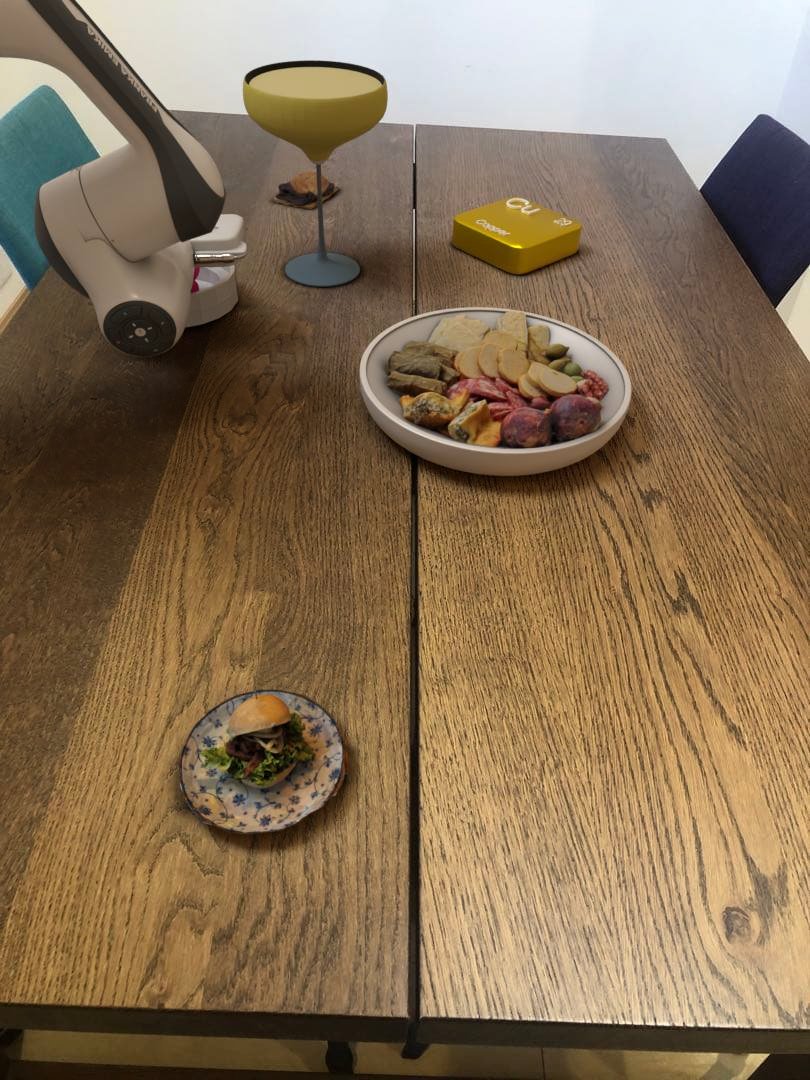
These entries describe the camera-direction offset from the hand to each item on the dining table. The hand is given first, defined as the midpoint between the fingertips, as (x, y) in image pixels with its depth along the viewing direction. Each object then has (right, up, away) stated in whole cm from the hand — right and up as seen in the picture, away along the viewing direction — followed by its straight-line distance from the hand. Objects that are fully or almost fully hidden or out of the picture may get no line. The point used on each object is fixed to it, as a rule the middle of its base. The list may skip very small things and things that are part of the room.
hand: (163, 213), depth 102 cm
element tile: (+47, +4, +24) cm, 53 cm away
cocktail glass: (+18, -2, +16) cm, 25 cm away
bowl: (+40, -26, -8) cm, 48 cm away
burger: (+20, -58, -43) cm, 75 cm away
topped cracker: (+13, +18, +37) cm, 43 cm away
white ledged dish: (0, -9, +7) cm, 12 cm away
